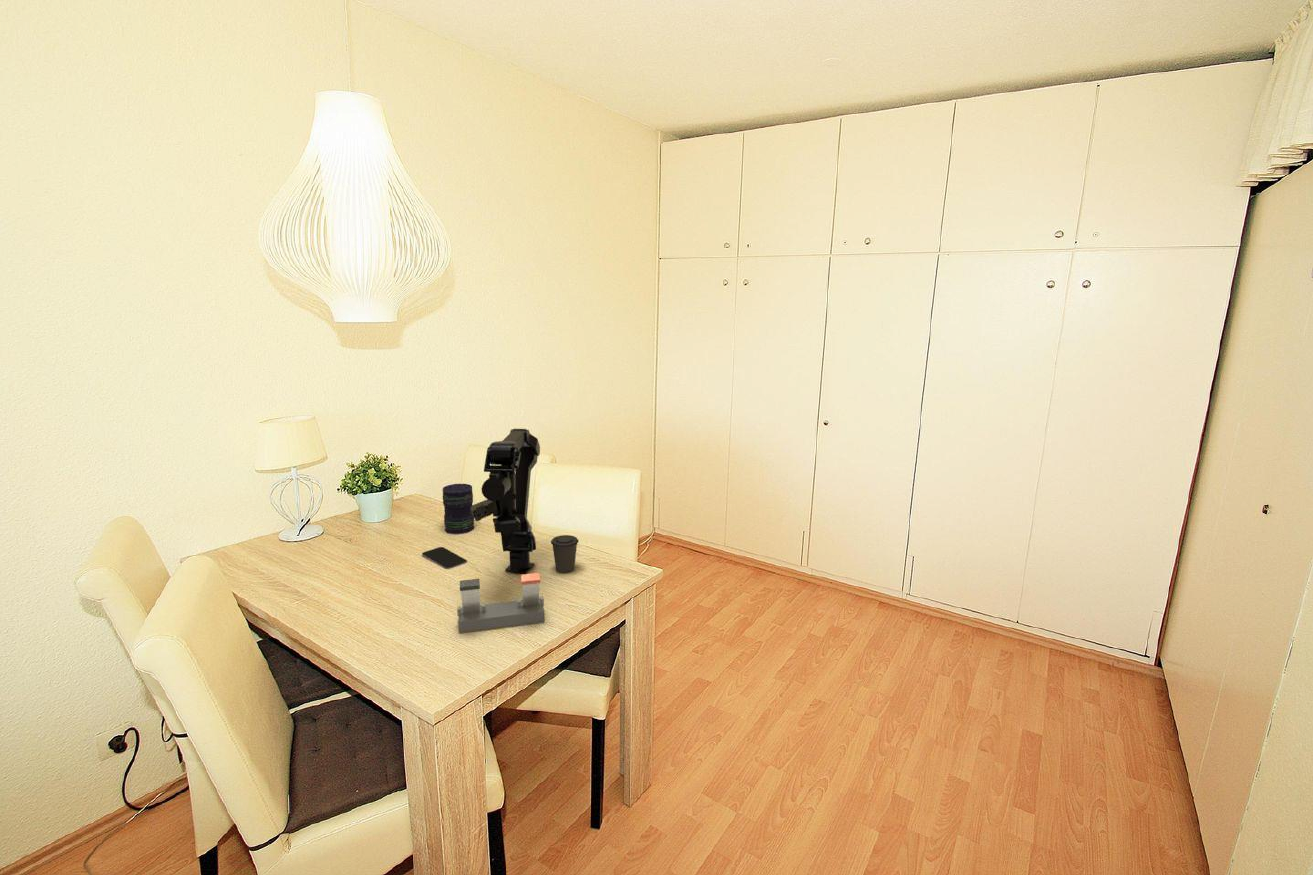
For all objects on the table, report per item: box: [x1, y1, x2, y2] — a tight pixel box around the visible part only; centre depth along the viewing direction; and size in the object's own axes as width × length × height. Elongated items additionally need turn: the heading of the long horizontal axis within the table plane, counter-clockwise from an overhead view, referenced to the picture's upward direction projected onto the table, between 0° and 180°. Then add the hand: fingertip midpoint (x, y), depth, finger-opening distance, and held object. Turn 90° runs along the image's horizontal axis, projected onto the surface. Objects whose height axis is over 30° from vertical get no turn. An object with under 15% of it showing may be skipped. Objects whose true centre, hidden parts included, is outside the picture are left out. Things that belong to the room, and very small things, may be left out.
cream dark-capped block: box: [459, 578, 481, 614], centre depth 139 cm, size 2×4×9 cm, turn 107°
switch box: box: [456, 595, 545, 634], centre depth 143 cm, size 7×20×5 cm, turn 107°
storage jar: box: [442, 483, 475, 535], centre depth 200 cm, size 10×10×15 cm
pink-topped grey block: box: [520, 572, 541, 606], centre depth 142 cm, size 2×4×9 cm, turn 107°
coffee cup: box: [550, 534, 579, 574], centre depth 171 cm, size 8×8×10 cm
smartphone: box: [421, 546, 468, 570], centre depth 178 cm, size 7×1×15 cm
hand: (505, 546), depth 155 cm, fingers closed
